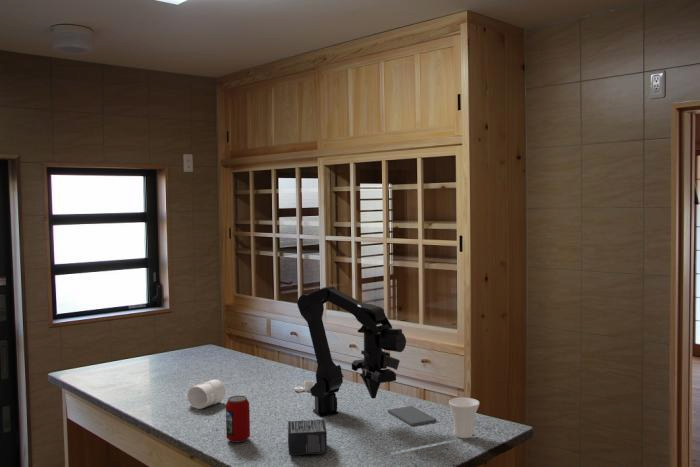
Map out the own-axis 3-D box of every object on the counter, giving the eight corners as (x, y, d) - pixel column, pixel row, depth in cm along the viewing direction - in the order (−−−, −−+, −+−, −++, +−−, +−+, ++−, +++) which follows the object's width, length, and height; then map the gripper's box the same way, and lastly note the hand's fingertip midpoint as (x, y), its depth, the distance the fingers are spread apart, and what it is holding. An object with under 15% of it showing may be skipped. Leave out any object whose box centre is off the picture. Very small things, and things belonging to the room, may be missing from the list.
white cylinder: (227, 404, 221) (227, 381, 221) (207, 411, 213) (207, 387, 213) (202, 399, 227) (201, 376, 227) (182, 406, 220) (181, 383, 219)
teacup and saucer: (291, 393, 233) (291, 382, 233) (301, 387, 240) (301, 377, 240) (313, 396, 230) (313, 384, 229) (323, 390, 237) (322, 379, 237)
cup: (460, 442, 181) (460, 407, 181) (443, 432, 190) (442, 398, 189) (486, 437, 185) (486, 403, 184) (468, 427, 193) (468, 394, 193)
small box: (324, 441, 184) (288, 442, 183) (324, 418, 184) (287, 419, 183) (326, 454, 174) (287, 456, 173) (326, 430, 174) (287, 432, 173)
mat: (411, 426, 195) (411, 423, 195) (387, 412, 209) (387, 409, 209) (436, 421, 199) (436, 419, 199) (411, 408, 213) (411, 405, 213)
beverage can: (227, 435, 190) (226, 395, 189) (250, 434, 190) (250, 394, 190) (225, 443, 183) (224, 402, 183) (249, 442, 184) (248, 401, 183)
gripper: (411, 351, 193) (411, 402, 194) (381, 339, 210) (381, 387, 210) (378, 355, 188) (379, 408, 189) (350, 343, 205) (351, 391, 205)
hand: (373, 398), depth 198 cm, fingers closed
